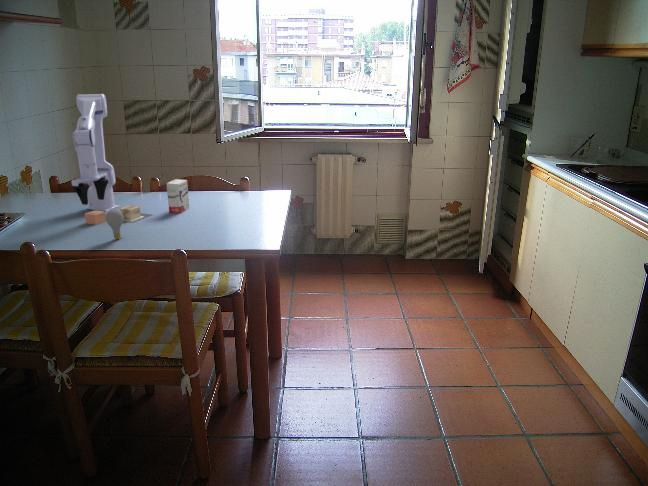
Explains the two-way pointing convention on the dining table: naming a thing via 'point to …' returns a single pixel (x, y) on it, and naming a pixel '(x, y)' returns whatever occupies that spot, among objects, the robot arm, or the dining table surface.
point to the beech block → (130, 212)
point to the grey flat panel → (138, 218)
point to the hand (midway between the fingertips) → (93, 201)
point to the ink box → (177, 196)
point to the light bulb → (115, 222)
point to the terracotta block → (95, 217)
